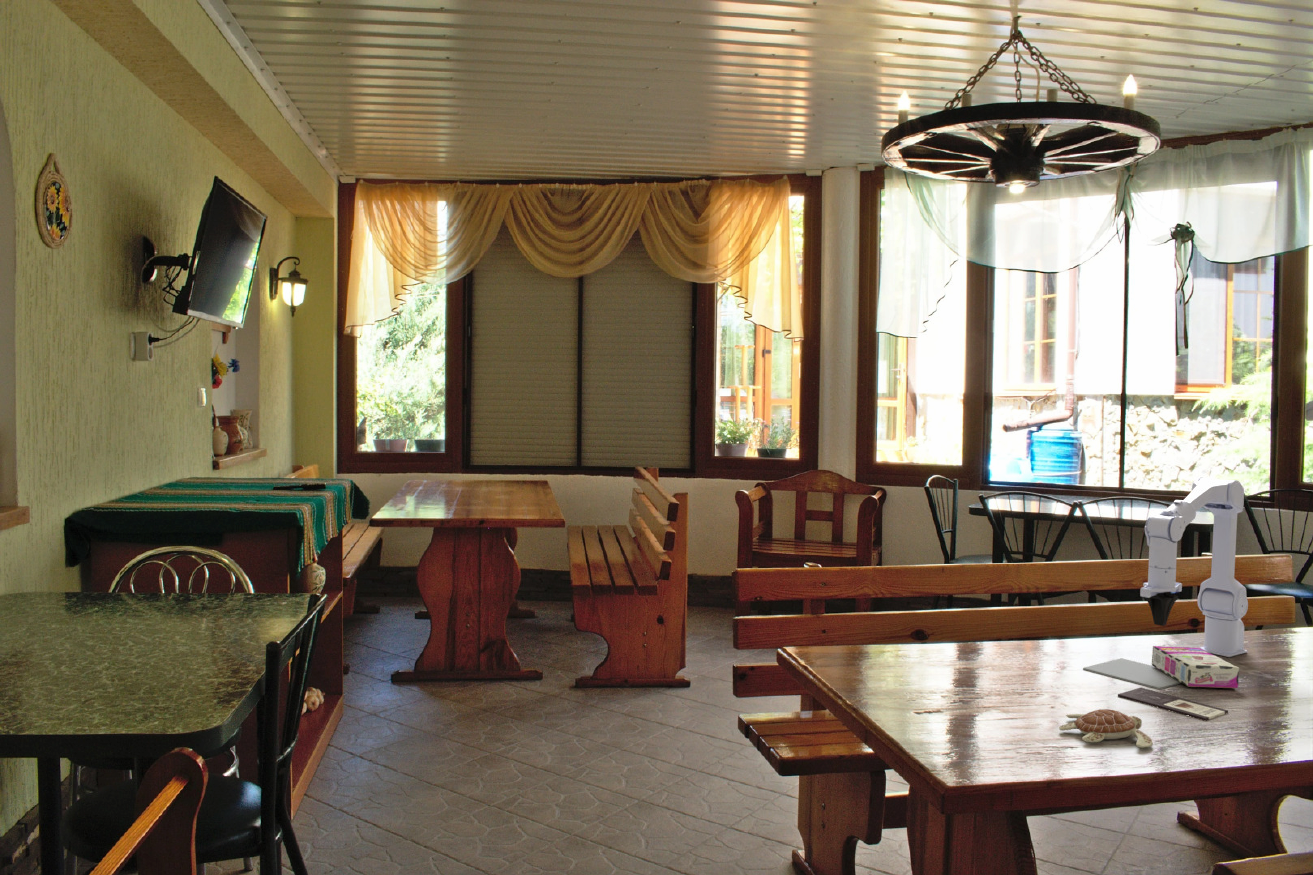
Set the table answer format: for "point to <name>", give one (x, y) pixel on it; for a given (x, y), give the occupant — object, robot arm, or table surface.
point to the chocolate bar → (1173, 703)
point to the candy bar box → (1195, 667)
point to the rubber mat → (1134, 673)
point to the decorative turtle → (1108, 726)
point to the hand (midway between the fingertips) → (1160, 624)
